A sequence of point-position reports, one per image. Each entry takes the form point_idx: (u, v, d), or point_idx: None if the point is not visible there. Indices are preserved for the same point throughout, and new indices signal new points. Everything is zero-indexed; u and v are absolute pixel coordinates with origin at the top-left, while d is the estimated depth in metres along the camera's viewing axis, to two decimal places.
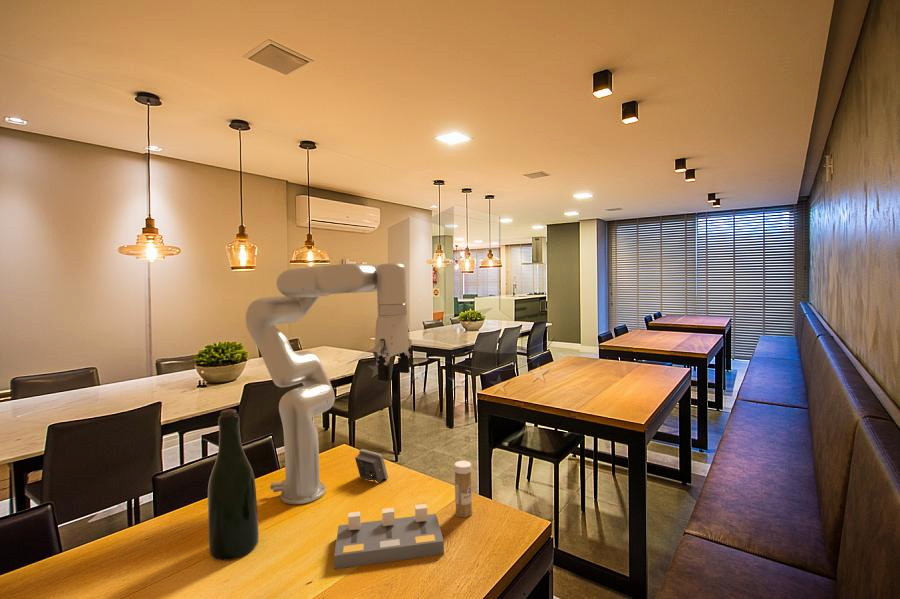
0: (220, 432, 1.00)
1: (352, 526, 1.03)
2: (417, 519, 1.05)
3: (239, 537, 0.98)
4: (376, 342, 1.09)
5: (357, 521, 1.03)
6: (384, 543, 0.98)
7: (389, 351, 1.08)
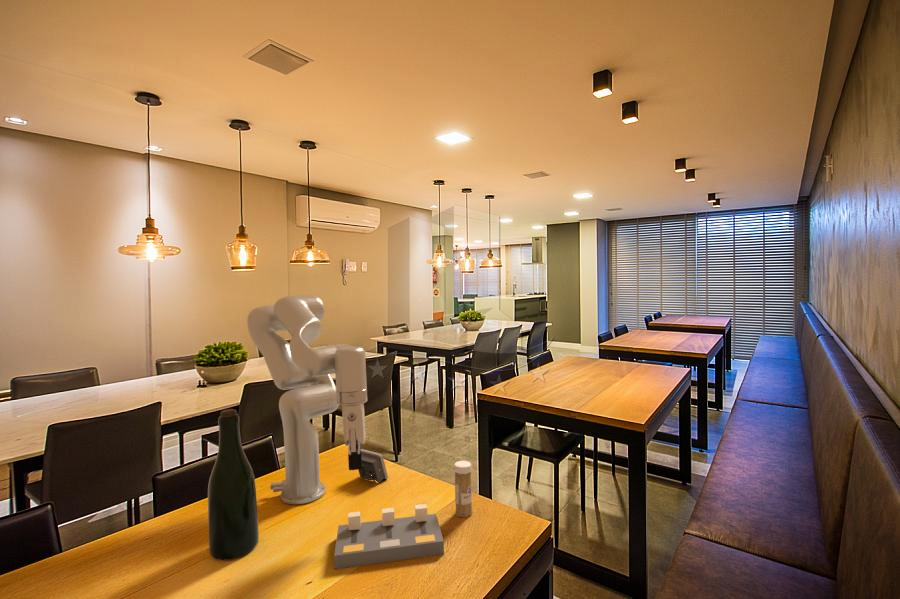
0: (220, 432, 1.00)
1: (352, 526, 1.03)
2: (417, 519, 1.05)
3: (239, 537, 0.98)
4: None
5: (357, 521, 1.03)
6: (384, 543, 0.98)
7: None
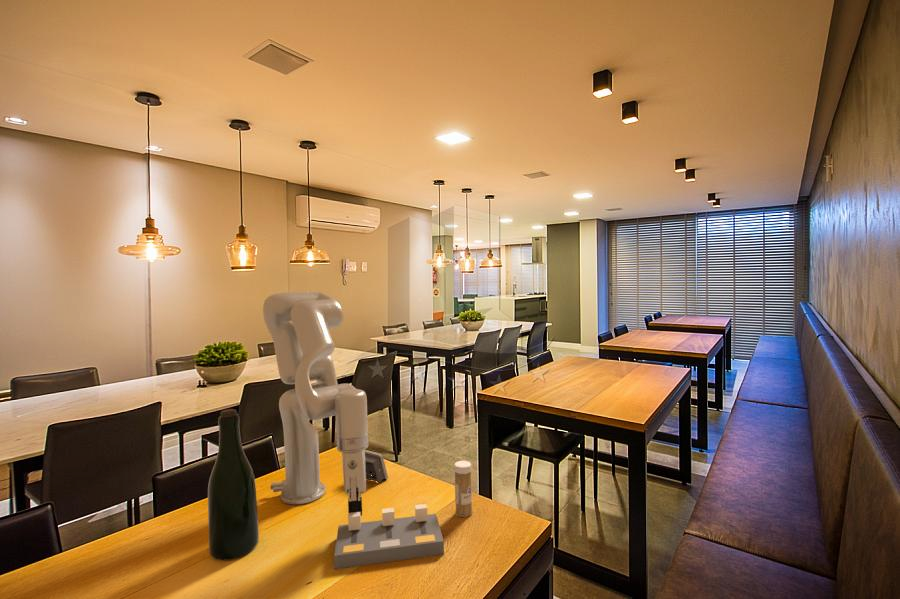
0: (220, 432, 1.00)
1: (352, 526, 1.03)
2: (417, 519, 1.05)
3: (239, 537, 0.98)
4: None
5: (357, 521, 1.03)
6: (384, 543, 0.98)
7: None
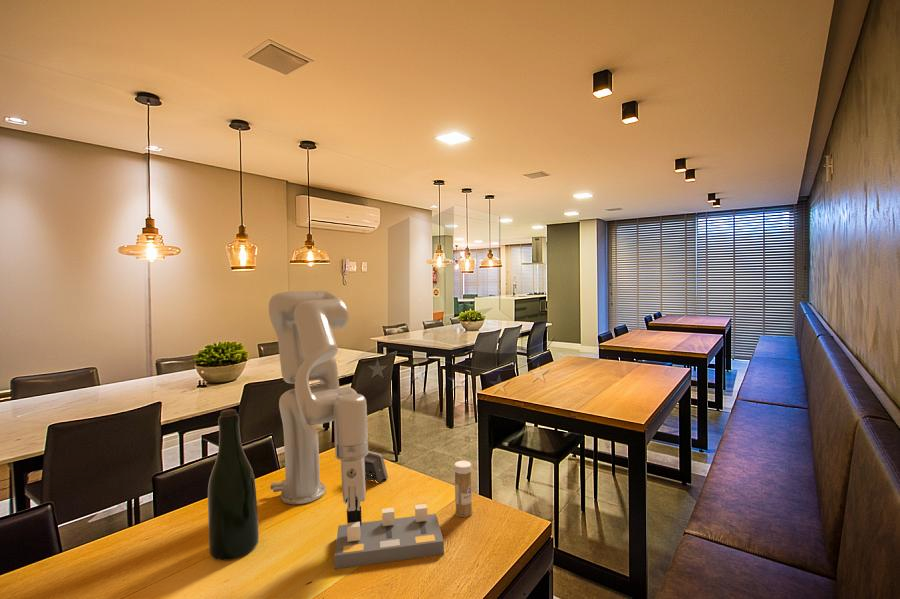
0: (220, 432, 1.00)
1: (351, 537, 0.98)
2: (417, 519, 1.05)
3: (239, 537, 0.98)
4: None
5: (356, 532, 0.98)
6: (384, 543, 0.98)
7: None
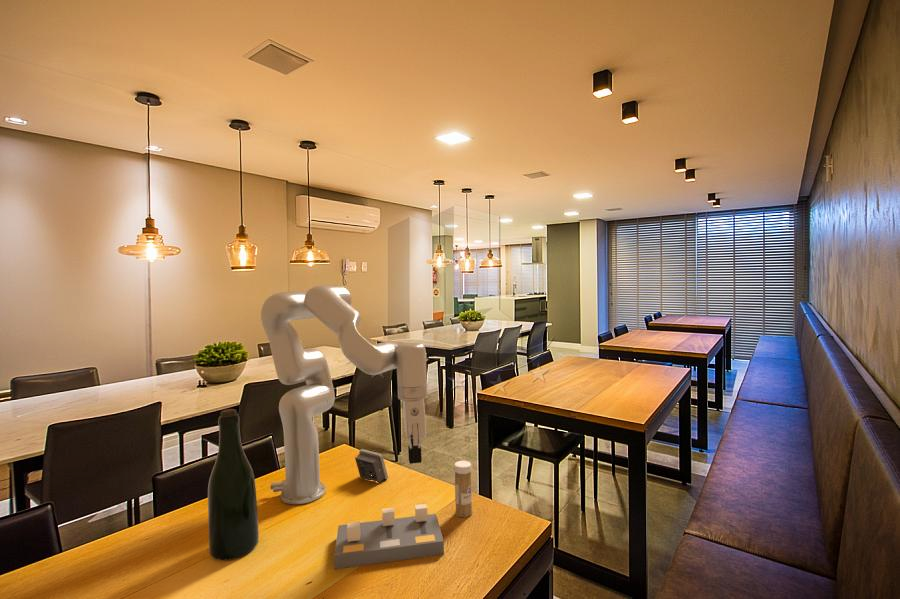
0: (220, 432, 1.00)
1: (351, 537, 0.98)
2: (417, 519, 1.05)
3: (239, 537, 0.98)
4: None
5: (356, 532, 0.98)
6: (384, 543, 0.98)
7: None
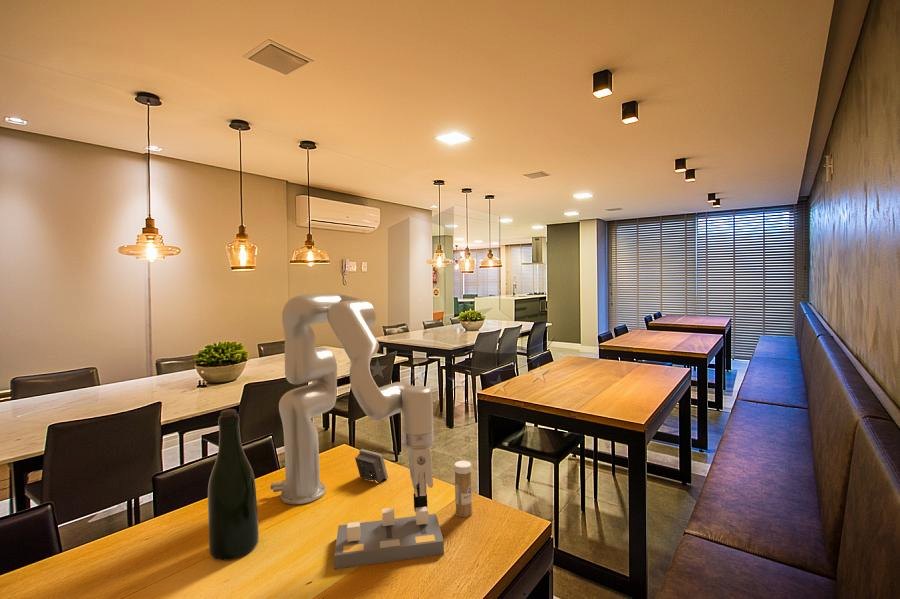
0: (220, 432, 1.00)
1: (351, 537, 0.98)
2: (418, 522, 1.04)
3: (239, 537, 0.98)
4: None
5: (356, 532, 0.98)
6: (384, 543, 0.98)
7: None
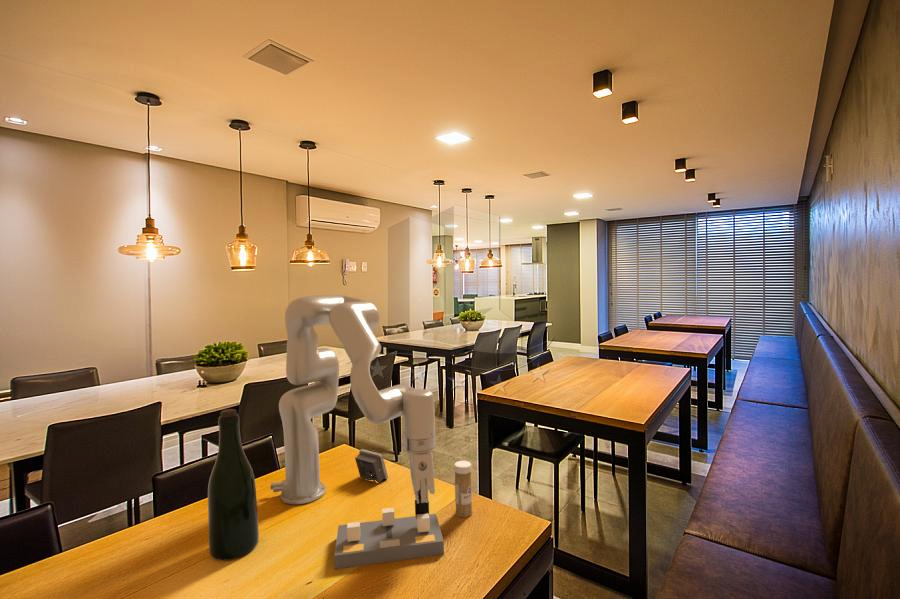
0: (220, 432, 1.00)
1: (351, 537, 0.98)
2: (419, 529, 1.01)
3: (239, 537, 0.98)
4: None
5: (356, 532, 0.98)
6: (384, 543, 0.98)
7: None
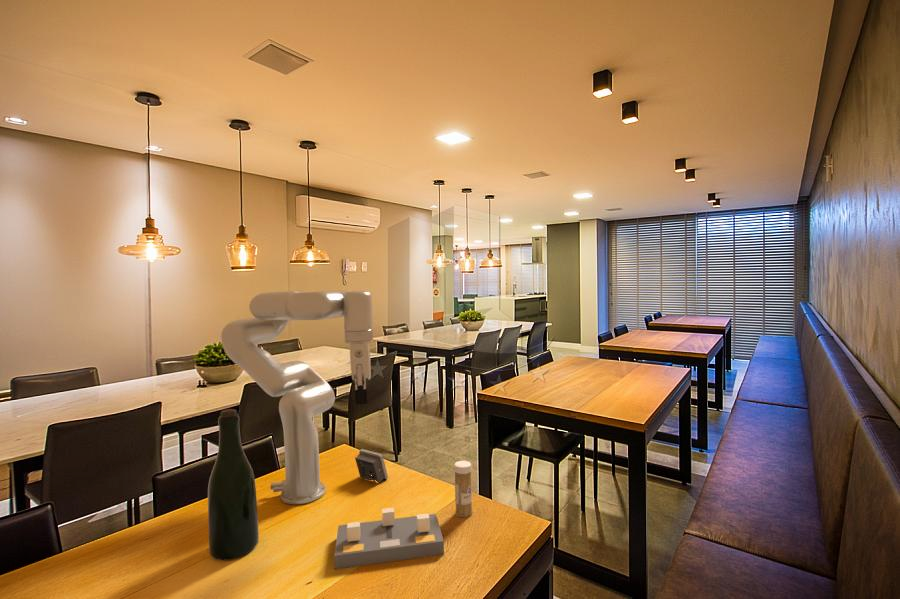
0: (220, 432, 1.00)
1: (351, 537, 0.98)
2: (419, 529, 1.01)
3: (239, 537, 0.98)
4: None
5: (356, 532, 0.98)
6: (384, 543, 0.98)
7: None
